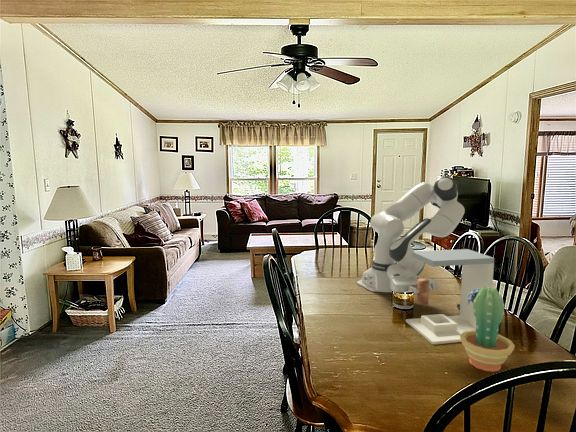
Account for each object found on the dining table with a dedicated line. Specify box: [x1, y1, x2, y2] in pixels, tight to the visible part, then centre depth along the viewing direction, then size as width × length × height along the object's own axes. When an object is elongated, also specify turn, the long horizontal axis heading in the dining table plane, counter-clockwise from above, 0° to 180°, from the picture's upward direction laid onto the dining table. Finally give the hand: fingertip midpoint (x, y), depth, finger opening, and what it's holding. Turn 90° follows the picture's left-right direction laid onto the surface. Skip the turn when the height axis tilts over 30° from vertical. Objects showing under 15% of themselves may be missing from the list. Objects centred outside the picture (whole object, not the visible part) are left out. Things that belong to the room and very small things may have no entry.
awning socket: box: [405, 248, 495, 345], centre depth 141 cm, size 20×24×30 cm
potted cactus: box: [460, 286, 516, 372], centre depth 117 cm, size 15×15×25 cm
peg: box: [416, 279, 430, 306], centre depth 155 cm, size 4×4×10 cm
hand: (424, 291), depth 154 cm, fingers closed on peg, 4 cm apart
